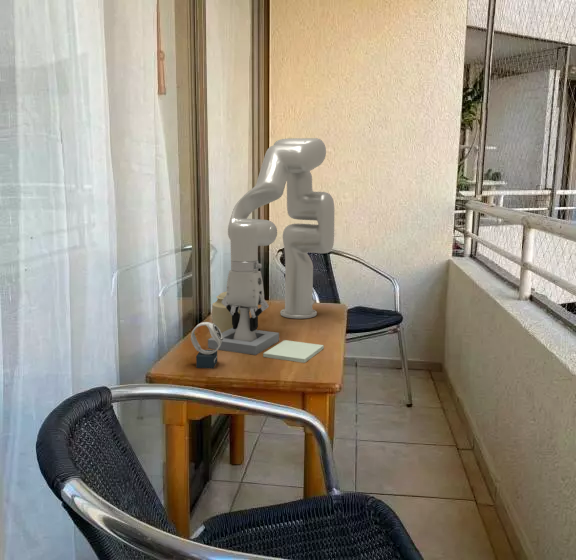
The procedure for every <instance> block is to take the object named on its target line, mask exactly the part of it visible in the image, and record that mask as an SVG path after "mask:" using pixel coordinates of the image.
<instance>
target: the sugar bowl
mask: <svg viewBox="0 0 576 560" xmlns="http://www.w3.org/2000/svg"><path fill="white" fill-rule="evenodd" d="M226 294H227V291H224V292H221V293H220V294H218V295H216V299H217V300H216V301H215V302H213V303H212V304H211V305H212V306H211V307H212V308H211V309H212V312H211V313H212V315H211V317H212V319H211V320H212V322H211V323H212V324H216V325H217V326H218V328H219V329H220V331H221V333H223V332H225V331H227V330H229V329H231V328H233V325H232V315H230V312H229V311H228V309H227V308H226V307H225V306H224V305H223V304H222V300H223V299H224V297H225V296H226ZM238 313H240V308H239V311H238ZM249 313H251V312H250V309H249Z"/></svg>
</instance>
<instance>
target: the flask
mask: <svg viewBox="0 0 576 560" xmlns="http://www.w3.org/2000/svg"><path fill="white" fill-rule="evenodd" d="M239 308H240V320H239V323H238V326H237V329H236V332H235V335H234V338H233V340H240V341H248V342H252V341H254V340H256V339H257V337H256V334H255V332H254V331H253V332H252V331H250V318H251V314H250V312H249V309H250V308H249V307H242V306H240V307H239Z"/></svg>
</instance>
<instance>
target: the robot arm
mask: <svg viewBox="0 0 576 560" xmlns="http://www.w3.org/2000/svg"><path fill="white" fill-rule="evenodd" d="M326 154H327V147H326V145H325V142H324V141H323V140H322V139H320V138H317V137H314V138H313V137H310V138H309V137H308V138H307V137H306V138H305V137H304V138H303V137H299V138H298V137H297V138H296V137H295V138H292V137H291V138H281V139H278V140H276V141H275V142H274V143H273V145H272V146H270V147H268V148H267V150H266V152H265V155H264V157H263V161H262V164H261V167H260V171H259V174H258V177H257V180H256V184H255V185H254V187H252V188H251V189H250V190H248V191H247V192H246V193H245V194H244V195H243V196H242V197H241V198H240V199H239V200H238V201H237V203H236V204H235V205H234V206H233V209H232V212H231V215H230V217H229V218H230V219H229V223H228V226H227V235H228V239H229V240H230V270H228V275H227V281H226V292H227V294H226V296H225V297H224V299H223V300H222V304H223V305H224V306H225V307H226V308H227V309H228V311H229V312H230V315H232V325H233V329H237V326H238V323H239V320H240V313H238V311H239V307H240V306H242V307H249V308H250V312H249V313H250V331H252V332H253V331H254V330H258V327H259V316H260V315H261V314H262V313H264V311H265V310H266V309H268V308H269V303H268V302H267V301H266V299H265V290H264V282H263V277H262V272H261V270H259V269H262V268H263V264H262V263H259V259H258V258H259V256H258V253H259V252H258V248H259V247H260V246H261V247H267V246H270V245H271V244H273V243H274V242H275V241H276V239H277V237H278V230H277V229H278V228H277V226H276V224H275V223H274V222H273V221H271V220H269V219H268V220H267V219H261V218H260V219H259V218H248V217H249V216H250V214H252V213H253V212H254V211H255V210H257V209H259V208H261V207H263V206H265V205H268V204H270V203H273V202H275V201H277V200H279V199H280V198H281V197H282V196H283V194H284V190H285V187H286V208H287V209H286V210H287V215H288V217H289V218H291V219H294V220H302V221H317V222H316V223H317V224H315V223H313V224H311V223H292V224H289V225H287V226H285V228H284V230H283V232H282V243H283V248H284V259H285V265H284V267H285V270H284V276H285V277H284V308H283V309H281V310H280V312H279V313H280V315H281V316H282V317H284V318H286V319H287V318H288V319H300V320H301V319H303V320H304V319H312V318H315V317H316V316H317V314H318V312H317V311H316V309H313V305H314V304H315V300H314V299H313V291H314V290H313V289H314V288H313V287H314V285H313V284H314V264H313V261H312V258H311V257H310V255H309V254H308V253H313V254H328V253H330V252H331V251H332V250H333V248H334V244H335V202H334V198H333V196H332V195H331V194H330V193H328V192H326V191H314V189H313V176H312V172H311V171H313V170H314V169H316V168H317V167H320V166H321V165H322V164H323V163H324V161H325V159H326V156H327V155H326ZM259 305H261V306H260V307H259Z"/></svg>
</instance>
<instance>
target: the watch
mask: <svg viewBox="0 0 576 560" xmlns="http://www.w3.org/2000/svg"><path fill="white" fill-rule="evenodd" d="M201 326H206V327H207V328H208V331H209V334H210V335H211V338H213V339H214V340H215V341H216V342H217V344H218V345H219V346H218V347H217V348H216V349H203V348H202V346H201V345H200V343H199V341H198V340H197V336H196V334H195V331H196V330H197V328H199V327H201ZM190 341H191V343H192V346H193V347H194V349H195V351H197V352H198V353H197V354H196V357H195V361H196V363H195V365H196V369H215V367H216V365H217V363H218V351H219V350H218V349H219V347H220V345H221V343H222V341H223V336H222V333H221V331H220V329H219V328H218V326H217V325H216V324H213V322H211V321H204V322H203V321H202V322H200V323H198V324H197V325H196V326H195V327H194V328H193V329H192V331H191V334H190Z"/></svg>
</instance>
